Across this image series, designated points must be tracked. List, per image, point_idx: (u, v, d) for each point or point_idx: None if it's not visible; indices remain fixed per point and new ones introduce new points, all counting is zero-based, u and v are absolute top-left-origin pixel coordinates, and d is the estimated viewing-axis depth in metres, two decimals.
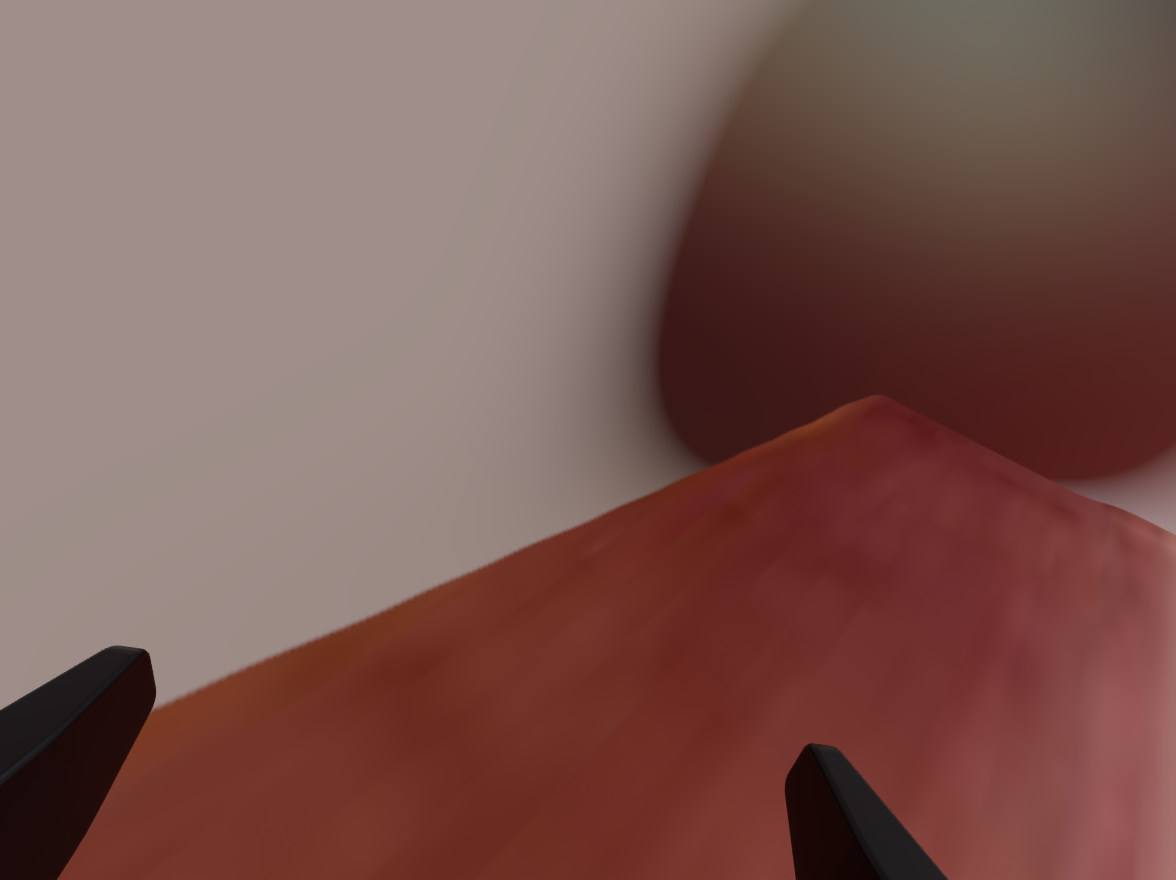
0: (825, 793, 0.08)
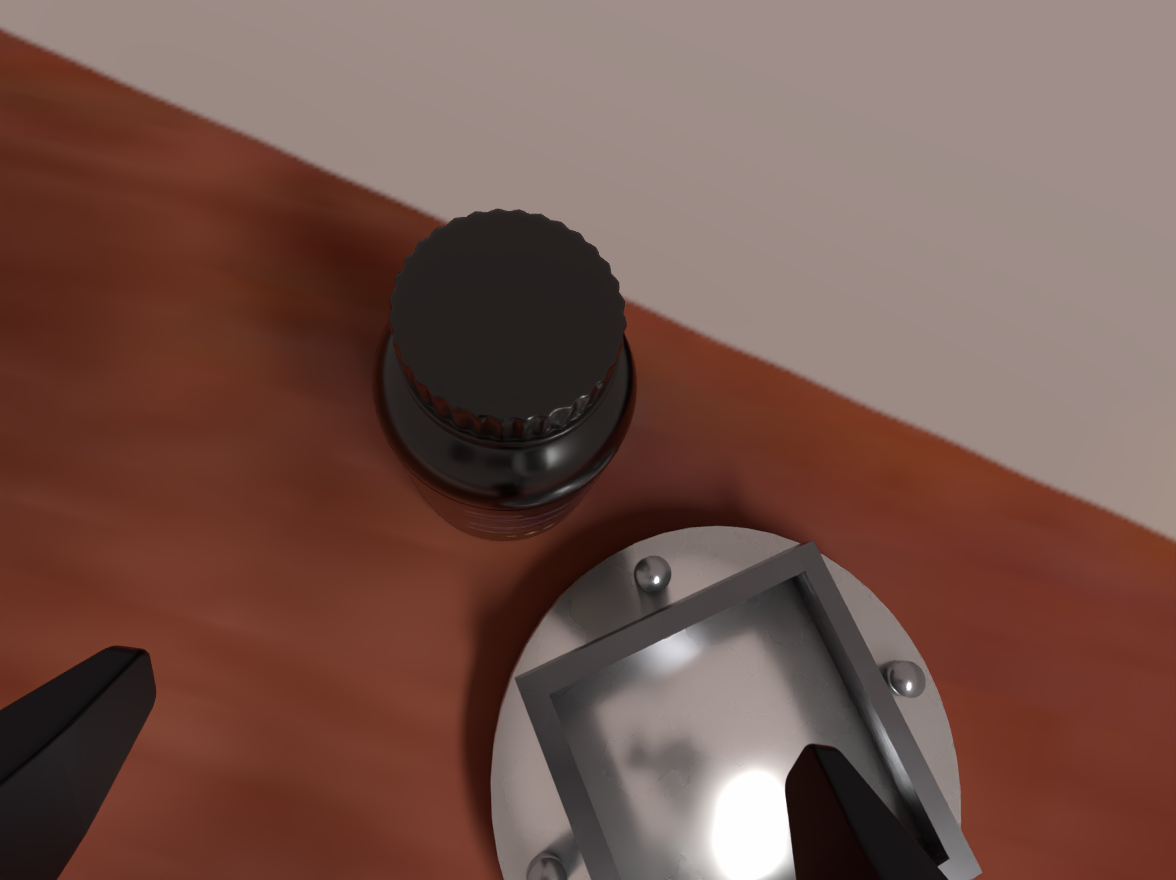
0: (824, 792, 0.08)
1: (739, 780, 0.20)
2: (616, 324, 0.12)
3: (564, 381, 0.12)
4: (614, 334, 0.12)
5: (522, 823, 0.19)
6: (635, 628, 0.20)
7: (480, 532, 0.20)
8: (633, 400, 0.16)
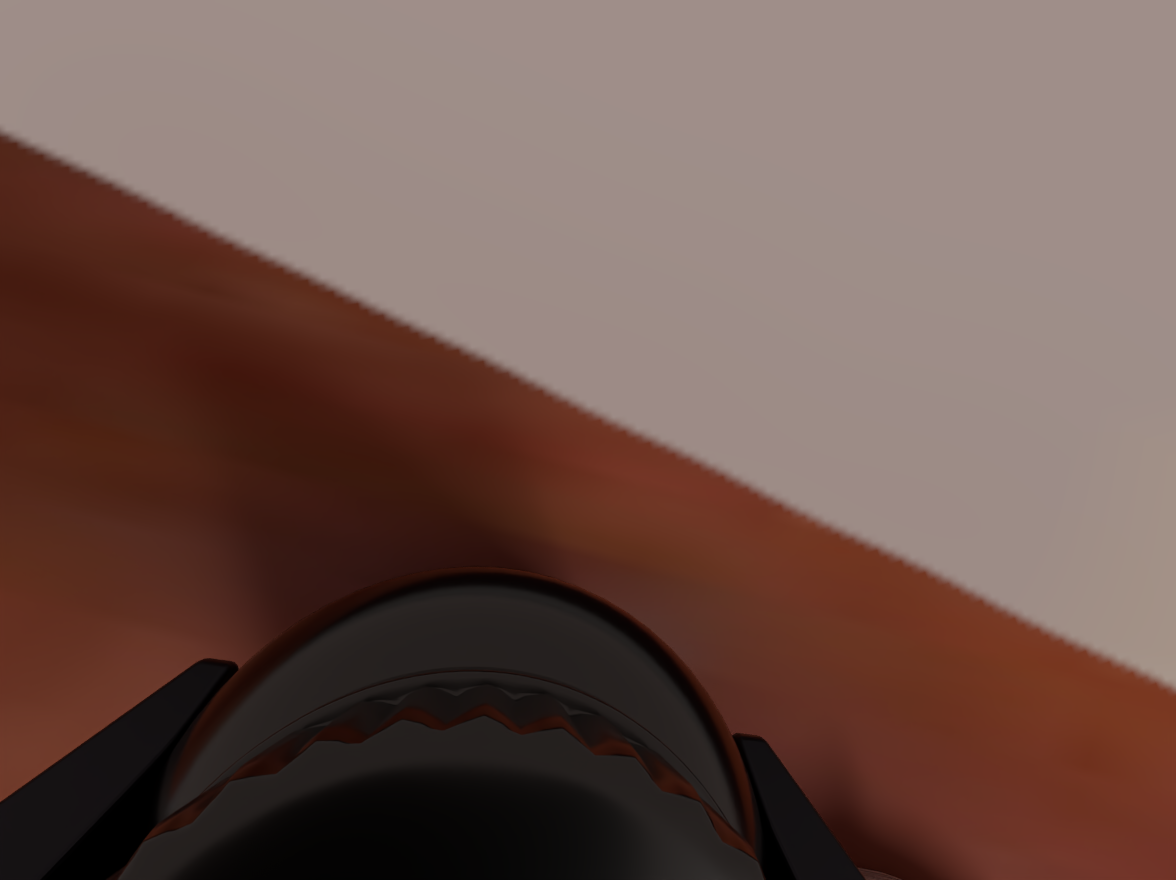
0: None
1: None
2: None
3: None
4: None
5: None
6: None
7: None
8: None
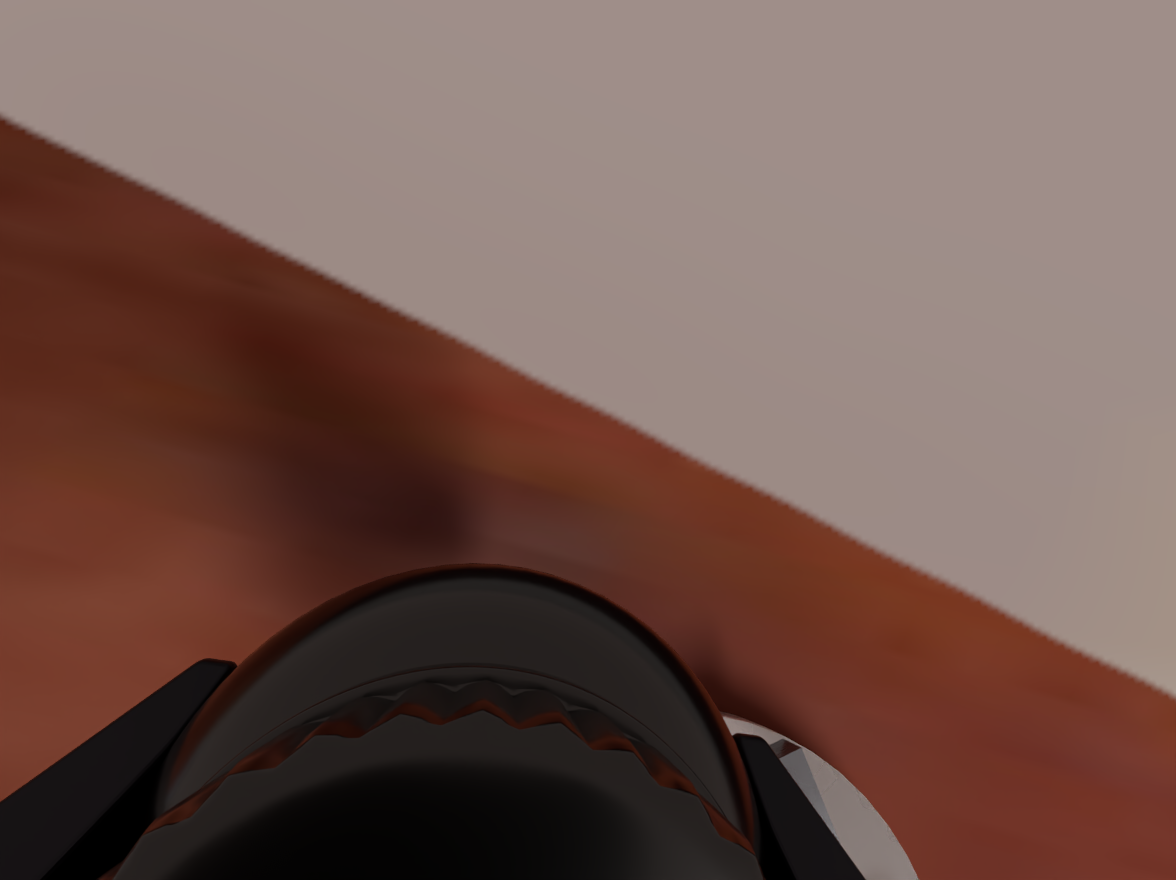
0: None
1: None
2: None
3: None
4: None
5: None
6: None
7: None
8: None
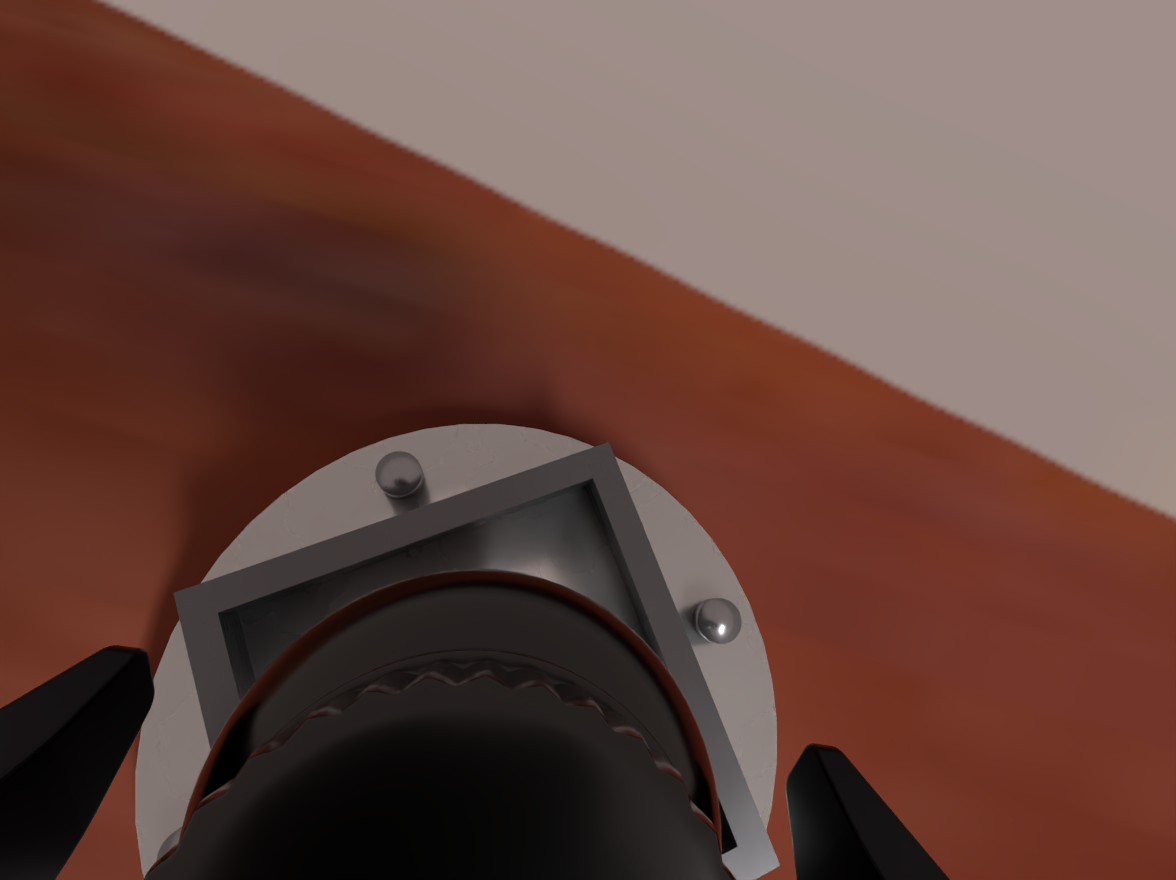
0: (826, 792, 0.08)
1: None
2: None
3: None
4: None
5: (176, 779, 0.14)
6: (351, 536, 0.15)
7: None
8: None
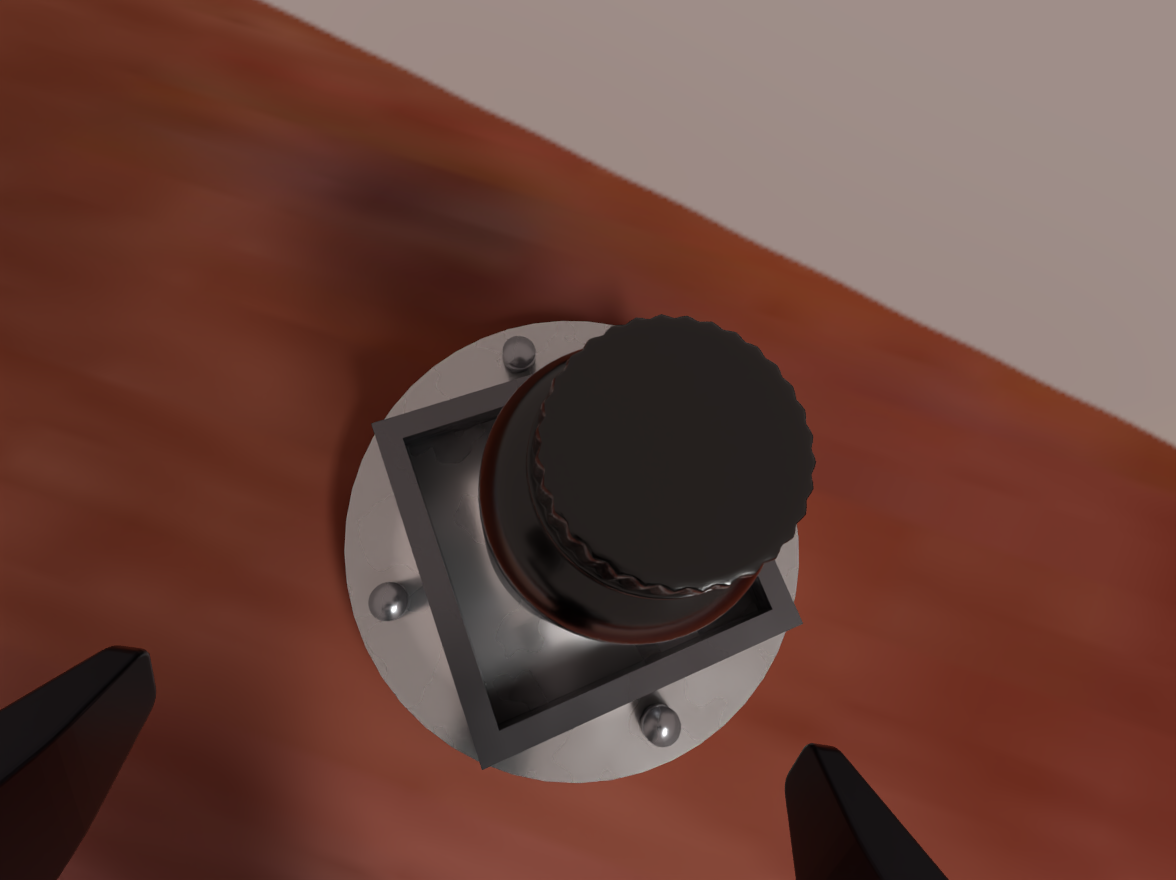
0: (825, 793, 0.08)
1: None
2: (805, 465, 0.10)
3: (747, 539, 0.10)
4: (803, 479, 0.10)
5: (372, 556, 0.20)
6: (491, 390, 0.21)
7: None
8: None
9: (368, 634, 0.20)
